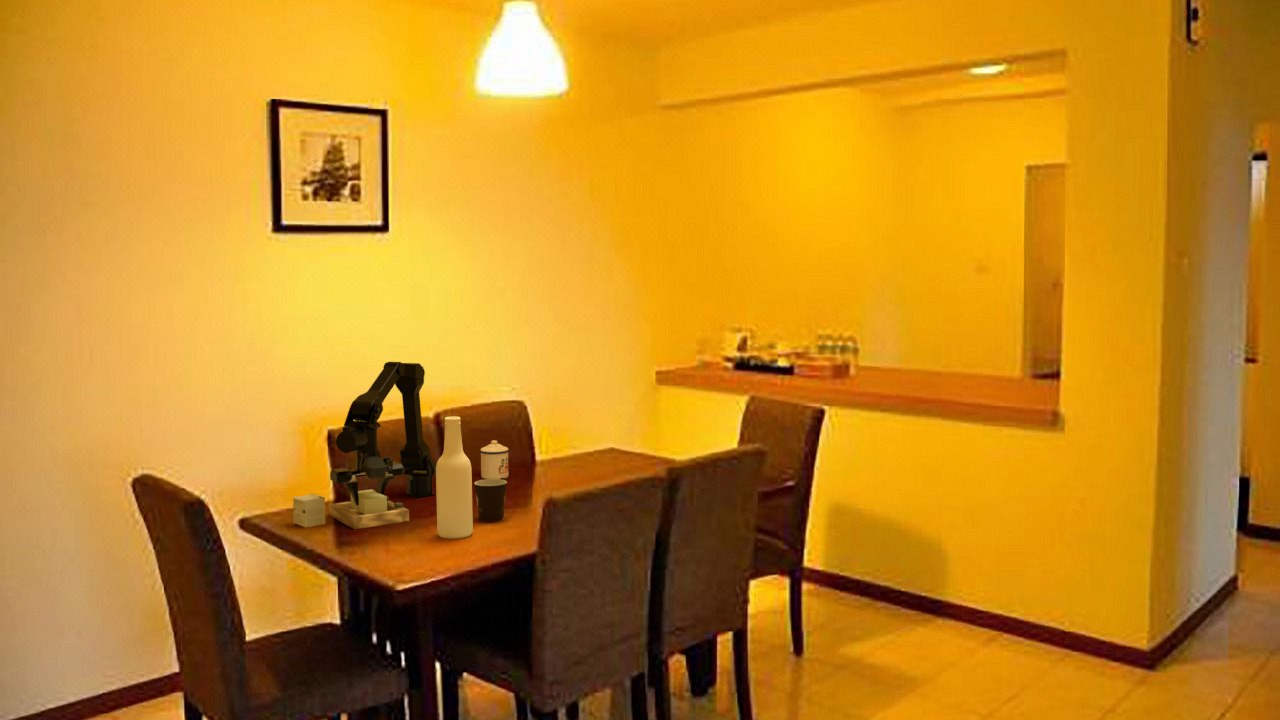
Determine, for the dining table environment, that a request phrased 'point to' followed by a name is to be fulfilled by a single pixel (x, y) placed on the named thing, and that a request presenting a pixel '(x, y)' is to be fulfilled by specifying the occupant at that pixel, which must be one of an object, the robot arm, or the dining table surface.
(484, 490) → the coffee mug
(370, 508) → the cream rectangular block
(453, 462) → the alcohol
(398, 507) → the carcass
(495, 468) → the teacup with lid
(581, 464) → the dining table surface
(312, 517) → the skincare box
